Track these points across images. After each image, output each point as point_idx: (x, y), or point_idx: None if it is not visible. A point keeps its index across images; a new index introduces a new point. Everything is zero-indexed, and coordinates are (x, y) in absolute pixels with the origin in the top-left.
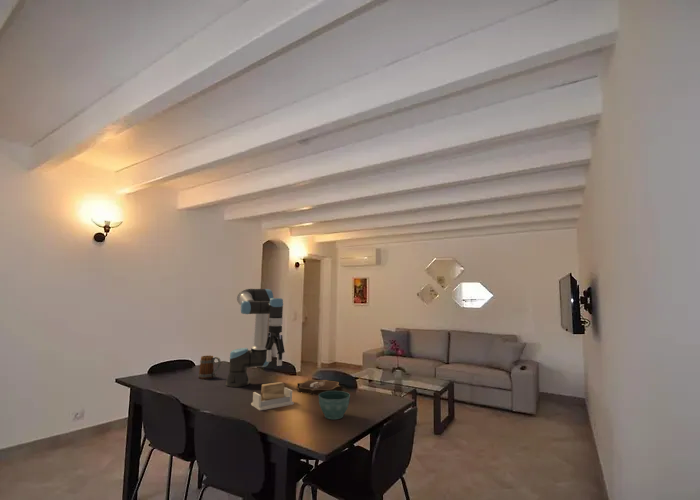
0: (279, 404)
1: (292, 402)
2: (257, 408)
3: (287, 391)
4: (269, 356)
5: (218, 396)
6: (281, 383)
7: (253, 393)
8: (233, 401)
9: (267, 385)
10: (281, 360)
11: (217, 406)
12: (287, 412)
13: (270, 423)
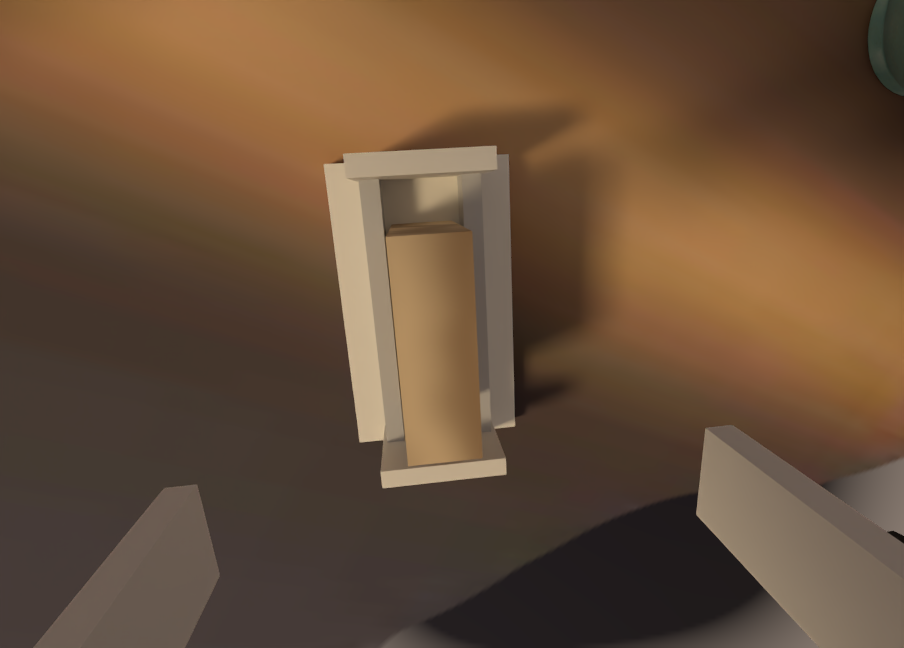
0: (506, 281)
1: (508, 165)
2: None
3: (431, 174)
4: (141, 641)
5: (36, 576)
6: (466, 267)
7: (390, 482)
8: (219, 513)
9: (474, 428)
10: (822, 503)
11: (295, 608)
12: (646, 277)
13: (750, 431)
